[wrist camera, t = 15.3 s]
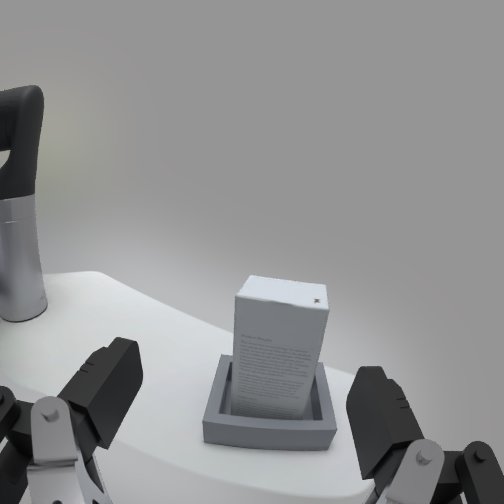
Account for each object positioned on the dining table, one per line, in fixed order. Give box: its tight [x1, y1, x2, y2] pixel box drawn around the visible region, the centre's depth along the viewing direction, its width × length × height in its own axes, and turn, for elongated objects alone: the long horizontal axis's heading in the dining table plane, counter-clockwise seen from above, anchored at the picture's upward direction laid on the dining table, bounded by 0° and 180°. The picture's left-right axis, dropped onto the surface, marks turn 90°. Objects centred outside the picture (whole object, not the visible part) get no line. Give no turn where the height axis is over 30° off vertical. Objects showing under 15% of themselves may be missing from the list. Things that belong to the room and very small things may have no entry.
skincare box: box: [231, 275, 329, 420], centre depth 20 cm, size 6×4×12 cm
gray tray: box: [203, 354, 337, 450], centre depth 22 cm, size 10×9×3 cm
